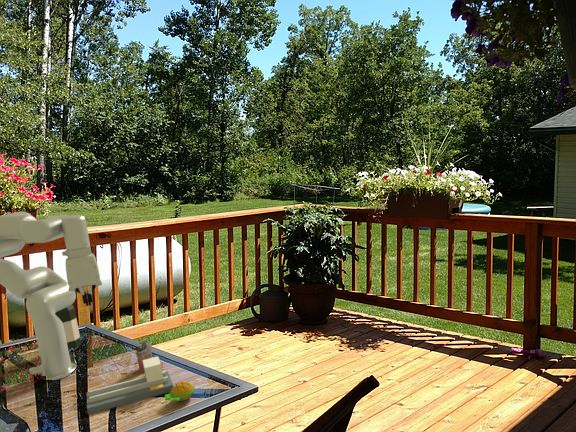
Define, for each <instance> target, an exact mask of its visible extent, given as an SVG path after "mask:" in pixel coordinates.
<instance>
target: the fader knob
mask: <svg viewBox="0 0 576 432" xmlns="http://www.w3.org/2000/svg"><path fill="white" fill-rule="evenodd" d="M143 365H144V371H145V373H144V375H145V376H146V380H147V383H149V382H153V381H157V380H160V379H163V374H162V372H163V368H162V365H161V360H160V357H159V356H154V357H153V356H152V358H149V359H145V360H143Z"/></svg>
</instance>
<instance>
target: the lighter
mask: <svg viewBox="0 0 576 432" xmlns="http://www.w3.org/2000/svg"><path fill="white" fill-rule="evenodd" d="M148 342H149V339H148V337H147V338H146V337H145V338H144V339H143V340H142V341H139V342H138V344H137V350H136V351H135V355H136V359H137V362H138V363H137V365H138V367H139V369H138V372H139V374H145V371H144V365H143V360H145V359H149V358H153V354H152V344H151V343H148Z"/></svg>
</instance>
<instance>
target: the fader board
mask: <svg viewBox="0 0 576 432" xmlns="http://www.w3.org/2000/svg"><path fill="white" fill-rule="evenodd" d="M162 374H163V379H160V380H157V381H153V382H149V383H147V380H146V376H141V377H137V378H134V379H129V380H126V381H121V382H118V383H115V384H111V385H108V386H103V387H99V388H96V389H92V390H88V391H87V392H86V410H87V411H86V412H87V415H92V414H95V413H98V412H102V411H106V410H111V409H114V408H117V407H122V406H124V405H128V404H131V403H135V402H138V401H143V400H145V399H150V398H153V397H156V396H159V395H161V396H162V395H164V394H167V393H168V394H169V393H170V392H171V390H172V388H173V387H174V384H173V380H172V378H171V376H170V373H169V370H162Z"/></svg>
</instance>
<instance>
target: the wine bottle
mask: <svg viewBox="0 0 576 432" xmlns="http://www.w3.org/2000/svg"><path fill="white" fill-rule="evenodd" d="M55 315H56V316H57V317H58V318H59V319H60V320H61V321H62V323H63V326H64V331H65V336H66V341H67V346H68V349H71V348H75V347H77V346H79V345H81V344H82V341H81V335H80V331H79V330H80V329H79V325H78V320H77V315H76V310H75V307H74V305H73V304H71V305H70V306H68V307H66V308H64V309H62V310H60V311H58V312H56V313H55Z"/></svg>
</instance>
